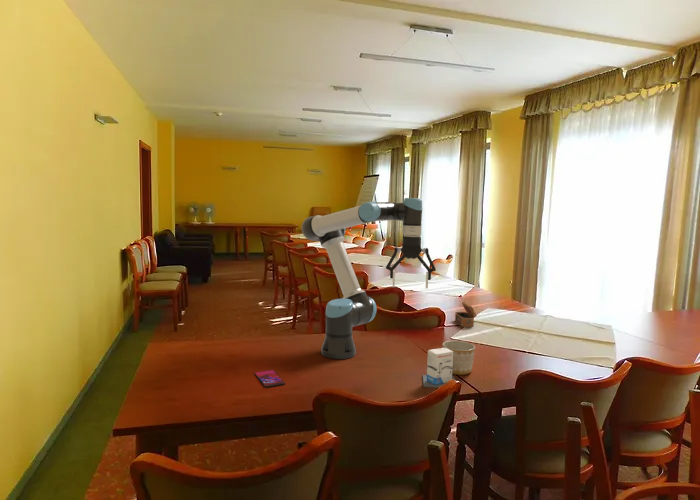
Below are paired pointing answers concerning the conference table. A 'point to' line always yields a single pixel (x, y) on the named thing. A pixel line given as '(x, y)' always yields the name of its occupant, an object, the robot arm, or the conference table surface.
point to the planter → (461, 356)
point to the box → (465, 316)
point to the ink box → (439, 365)
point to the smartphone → (269, 379)
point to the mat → (428, 384)
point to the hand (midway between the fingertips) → (410, 287)
